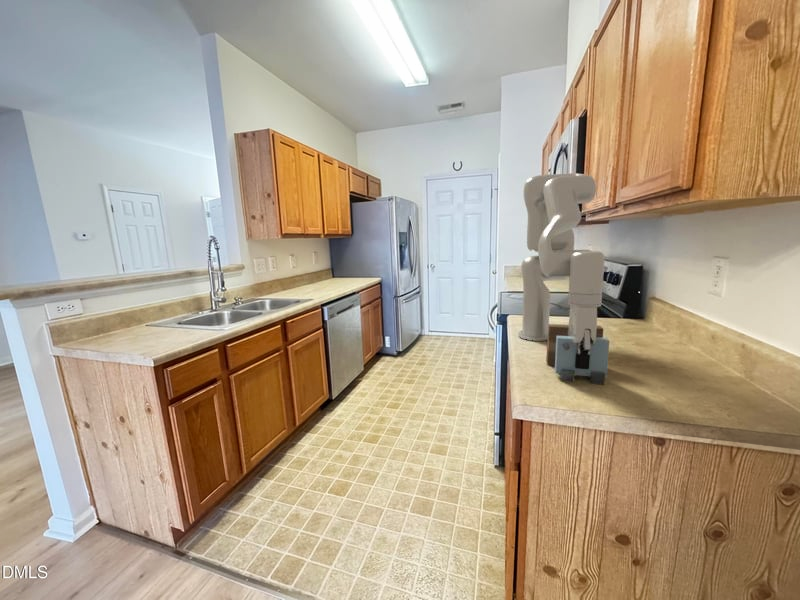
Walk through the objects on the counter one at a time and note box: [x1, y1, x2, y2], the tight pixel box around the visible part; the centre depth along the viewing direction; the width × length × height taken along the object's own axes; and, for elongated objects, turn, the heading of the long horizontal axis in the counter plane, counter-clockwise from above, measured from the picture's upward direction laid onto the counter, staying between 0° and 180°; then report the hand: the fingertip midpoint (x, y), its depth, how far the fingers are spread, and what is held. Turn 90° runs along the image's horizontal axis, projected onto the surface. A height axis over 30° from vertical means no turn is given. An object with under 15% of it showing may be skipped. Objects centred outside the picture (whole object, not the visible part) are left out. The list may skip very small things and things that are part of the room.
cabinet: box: [545, 323, 604, 367], centre depth 96 cm, size 4×14×12 cm, turn 72°
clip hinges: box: [560, 369, 606, 386], centre depth 89 cm, size 12×10×3 cm
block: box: [554, 336, 610, 378], centre depth 85 cm, size 4×12×10 cm, turn 72°
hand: (580, 365), depth 86 cm, fingers closed on block, 2 cm apart
